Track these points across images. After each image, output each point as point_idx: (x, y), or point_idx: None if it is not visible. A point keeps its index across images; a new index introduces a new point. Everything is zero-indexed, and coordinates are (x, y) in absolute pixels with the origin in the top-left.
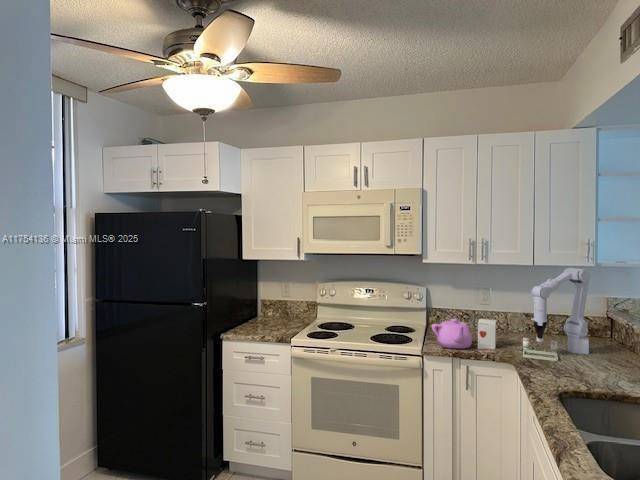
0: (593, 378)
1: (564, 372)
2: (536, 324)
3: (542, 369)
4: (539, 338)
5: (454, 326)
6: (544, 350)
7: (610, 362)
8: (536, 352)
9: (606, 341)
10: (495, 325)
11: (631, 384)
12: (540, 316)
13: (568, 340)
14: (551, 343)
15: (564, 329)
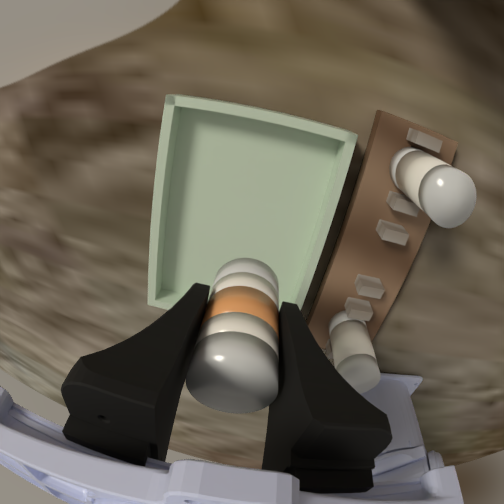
0: (24, 334)
1: (27, 268)
2: (68, 402)
3: (18, 185)
4: (209, 298)
5: None
6: (359, 284)
7: (255, 444)
8: (319, 221)
9: (486, 448)
10: None
11: (40, 390)
12: None
13: (391, 429)
14: (353, 355)
15: (432, 466)
